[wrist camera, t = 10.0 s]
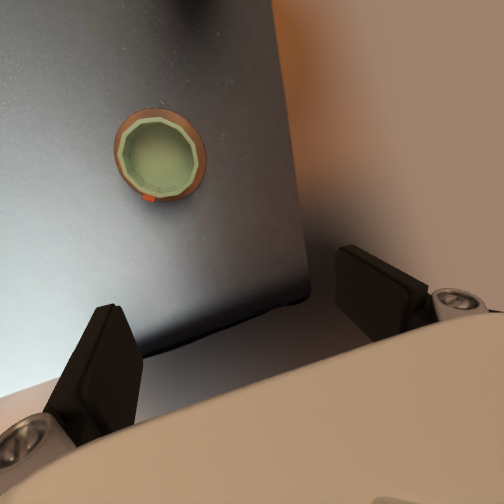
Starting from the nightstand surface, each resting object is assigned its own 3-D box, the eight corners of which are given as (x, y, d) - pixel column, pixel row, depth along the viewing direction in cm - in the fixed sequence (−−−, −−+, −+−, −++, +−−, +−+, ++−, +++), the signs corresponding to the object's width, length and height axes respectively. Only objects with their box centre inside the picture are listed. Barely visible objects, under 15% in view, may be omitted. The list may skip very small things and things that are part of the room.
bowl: (137, 110, 27) (129, 102, 22) (202, 139, 29) (207, 138, 25) (119, 182, 29) (108, 188, 24) (182, 203, 31) (183, 212, 27)
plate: (185, 97, 28) (186, 95, 27) (217, 184, 32) (218, 184, 32) (96, 125, 27) (94, 125, 26) (142, 212, 31) (141, 213, 31)
